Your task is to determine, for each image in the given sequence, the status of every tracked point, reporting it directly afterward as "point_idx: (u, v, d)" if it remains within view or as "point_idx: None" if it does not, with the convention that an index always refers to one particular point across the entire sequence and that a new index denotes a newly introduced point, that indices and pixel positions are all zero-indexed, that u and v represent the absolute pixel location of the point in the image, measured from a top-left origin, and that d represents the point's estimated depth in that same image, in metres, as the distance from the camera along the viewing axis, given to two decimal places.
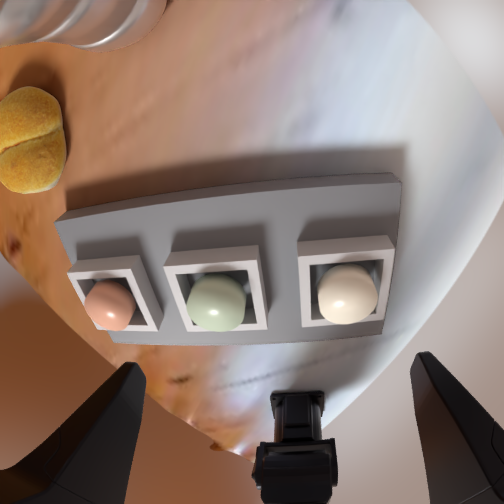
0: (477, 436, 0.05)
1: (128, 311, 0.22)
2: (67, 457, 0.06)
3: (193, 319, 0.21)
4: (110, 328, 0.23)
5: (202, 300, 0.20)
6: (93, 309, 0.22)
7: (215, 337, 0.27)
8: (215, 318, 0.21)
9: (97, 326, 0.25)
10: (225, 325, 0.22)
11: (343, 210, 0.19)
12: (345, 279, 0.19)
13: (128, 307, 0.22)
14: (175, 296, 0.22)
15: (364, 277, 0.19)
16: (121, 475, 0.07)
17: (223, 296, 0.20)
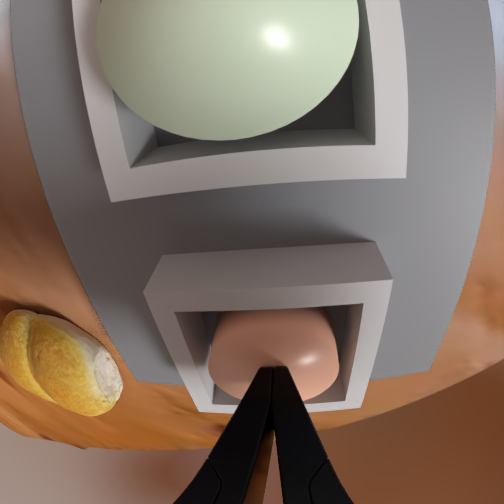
0: (299, 470, 0.05)
1: (272, 321, 0.08)
2: (233, 492, 0.05)
3: (278, 117, 0.04)
4: (329, 378, 0.09)
5: (153, 66, 0.04)
6: None
7: (469, 108, 0.06)
8: (262, 14, 0.03)
9: (351, 406, 0.10)
10: None
11: None
12: None
13: (264, 316, 0.08)
14: (221, 180, 0.06)
15: None
16: (261, 495, 0.07)
17: None
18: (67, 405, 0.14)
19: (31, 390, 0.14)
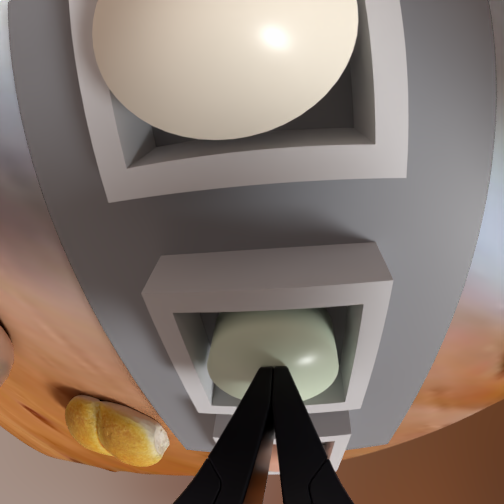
0: (299, 470, 0.05)
1: None
2: (233, 492, 0.05)
3: None
4: None
5: (240, 384, 0.09)
6: (278, 467, 0.14)
7: (423, 343, 0.11)
8: (293, 374, 0.09)
9: None
10: (318, 362, 0.08)
11: (55, 86, 0.06)
12: None
13: None
14: None
15: None
16: (261, 495, 0.07)
17: (222, 357, 0.09)
18: (131, 463, 0.18)
19: (96, 451, 0.19)
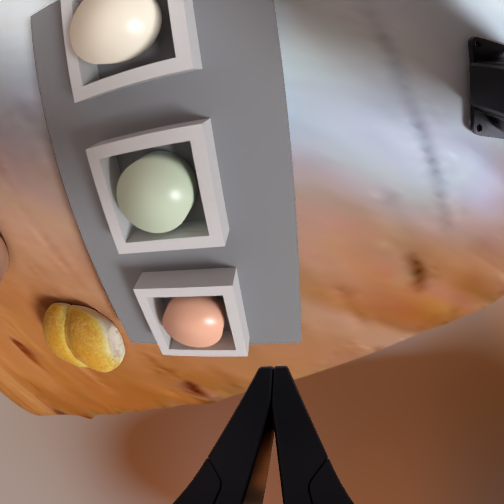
0: (299, 471, 0.05)
1: (186, 301, 0.19)
2: (233, 493, 0.05)
3: (171, 227, 0.16)
4: (219, 331, 0.20)
5: (136, 211, 0.15)
6: (191, 338, 0.20)
7: (276, 202, 0.17)
8: (163, 198, 0.15)
9: (241, 354, 0.21)
10: (174, 185, 0.14)
11: (56, 59, 0.12)
12: (74, 43, 0.10)
13: (184, 299, 0.19)
14: (157, 248, 0.17)
15: None
16: (261, 495, 0.07)
17: (123, 186, 0.15)
18: (89, 362, 0.24)
19: (64, 355, 0.25)
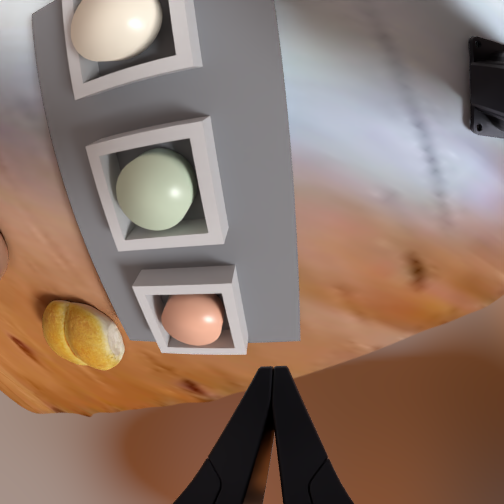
0: (299, 471, 0.05)
1: (185, 299, 0.19)
2: (233, 493, 0.05)
3: (170, 224, 0.16)
4: (217, 329, 0.20)
5: (135, 208, 0.15)
6: (189, 336, 0.20)
7: (275, 200, 0.17)
8: (162, 195, 0.15)
9: (240, 352, 0.21)
10: (174, 182, 0.14)
11: (57, 57, 0.12)
12: (74, 40, 0.10)
13: (183, 296, 0.19)
14: (157, 246, 0.17)
15: None
16: (261, 495, 0.07)
17: (123, 183, 0.14)
18: (88, 359, 0.24)
19: (63, 353, 0.25)
